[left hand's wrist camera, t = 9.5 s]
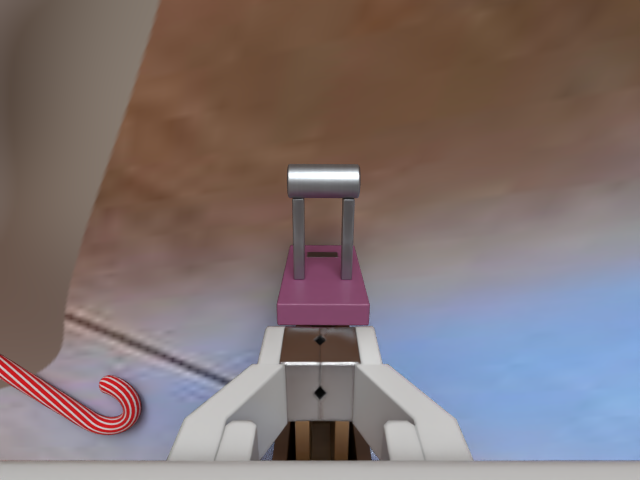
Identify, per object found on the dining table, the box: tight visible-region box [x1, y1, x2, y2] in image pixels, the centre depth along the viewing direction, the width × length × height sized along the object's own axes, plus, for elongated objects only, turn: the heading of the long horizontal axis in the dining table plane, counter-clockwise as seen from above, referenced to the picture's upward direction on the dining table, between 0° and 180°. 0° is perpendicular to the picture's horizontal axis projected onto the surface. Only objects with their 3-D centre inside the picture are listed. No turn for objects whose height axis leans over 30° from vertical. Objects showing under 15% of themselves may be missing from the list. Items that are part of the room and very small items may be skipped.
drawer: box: [277, 164, 370, 461], centre depth 23 cm, size 22×4×9 cm, turn 0°
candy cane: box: [0, 354, 141, 435], centre depth 29 cm, size 6×15×2 cm, turn 46°
